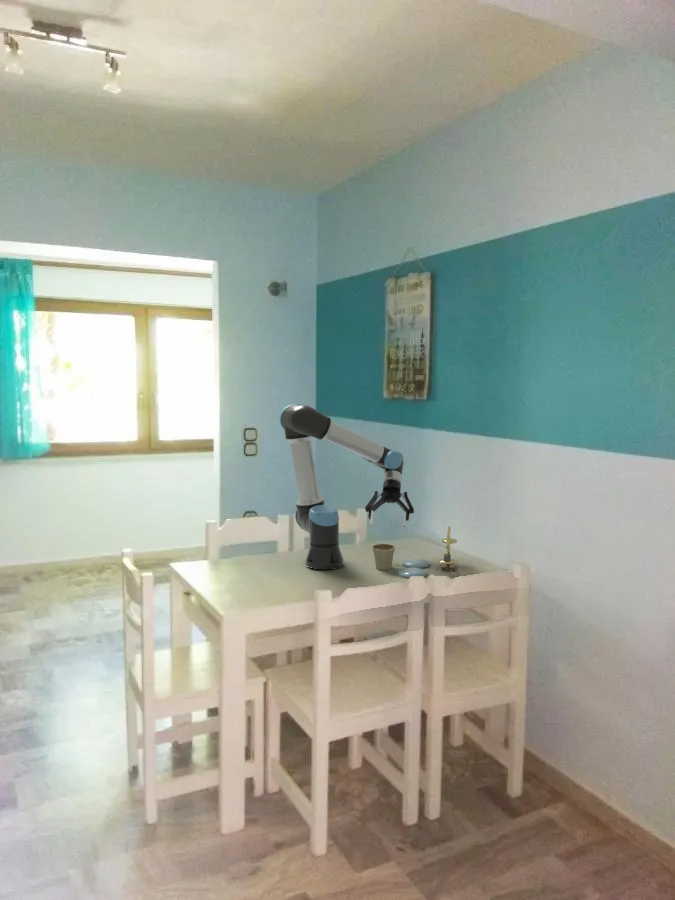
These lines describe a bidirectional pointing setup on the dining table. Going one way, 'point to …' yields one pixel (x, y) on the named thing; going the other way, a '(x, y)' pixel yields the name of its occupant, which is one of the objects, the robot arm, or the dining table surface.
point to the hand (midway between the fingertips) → (387, 526)
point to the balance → (448, 553)
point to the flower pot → (383, 555)
